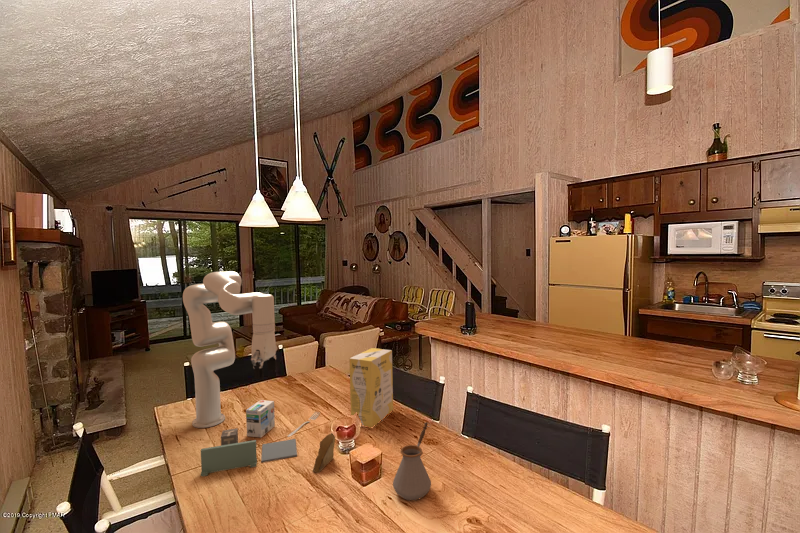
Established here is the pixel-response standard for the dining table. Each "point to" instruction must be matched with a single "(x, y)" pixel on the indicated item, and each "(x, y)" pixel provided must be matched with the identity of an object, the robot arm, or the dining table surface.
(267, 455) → the mat
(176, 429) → the dining table surface
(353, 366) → the pasta box
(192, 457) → the dining table surface
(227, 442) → the lettered block
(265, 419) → the light bulb box
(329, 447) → the rock
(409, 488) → the coffee pot
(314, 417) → the fork
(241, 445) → the green panel with feet
